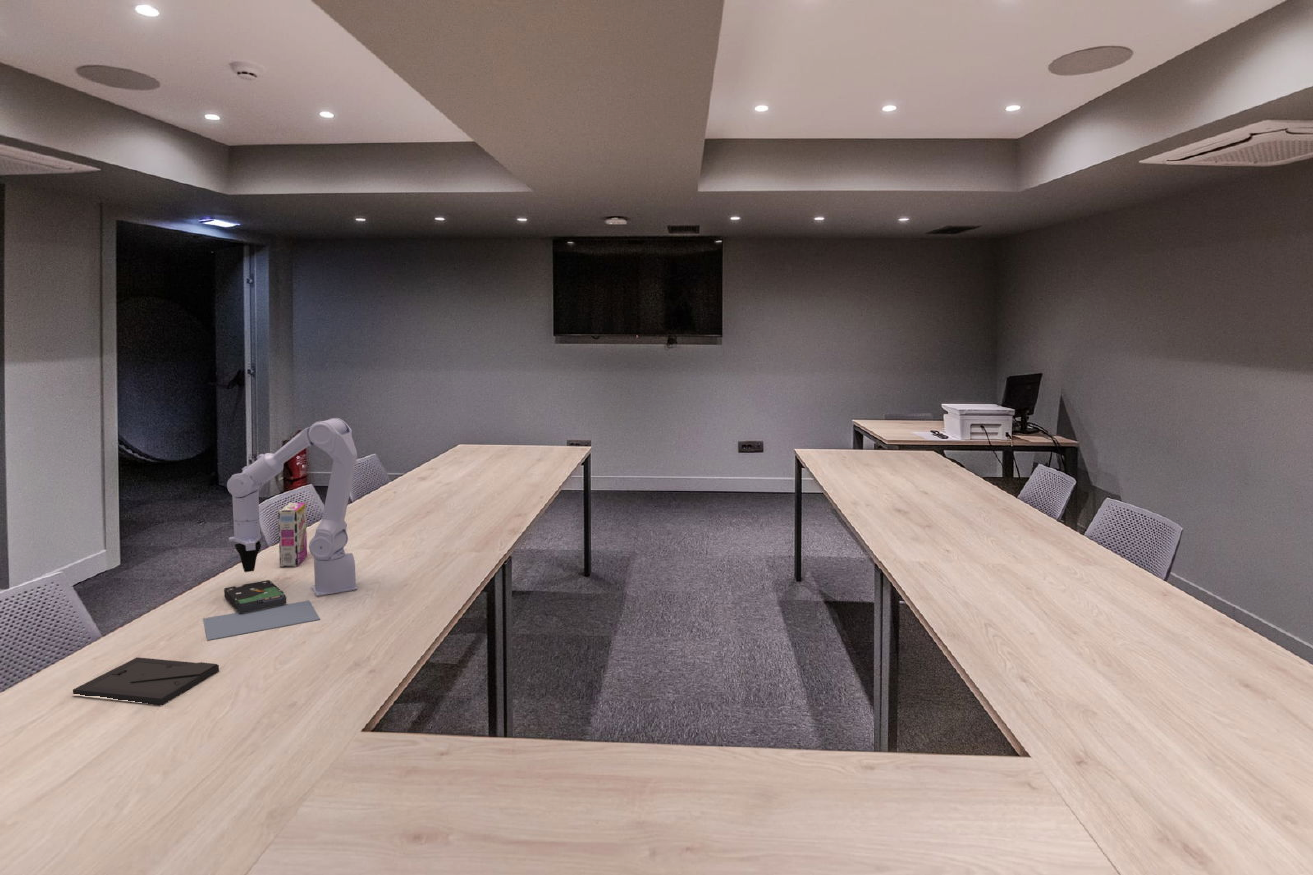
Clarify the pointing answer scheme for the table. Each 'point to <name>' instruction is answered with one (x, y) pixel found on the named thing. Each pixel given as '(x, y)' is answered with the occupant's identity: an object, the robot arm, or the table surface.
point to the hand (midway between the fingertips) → (249, 571)
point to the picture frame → (148, 680)
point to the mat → (259, 620)
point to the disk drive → (254, 596)
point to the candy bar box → (292, 534)
